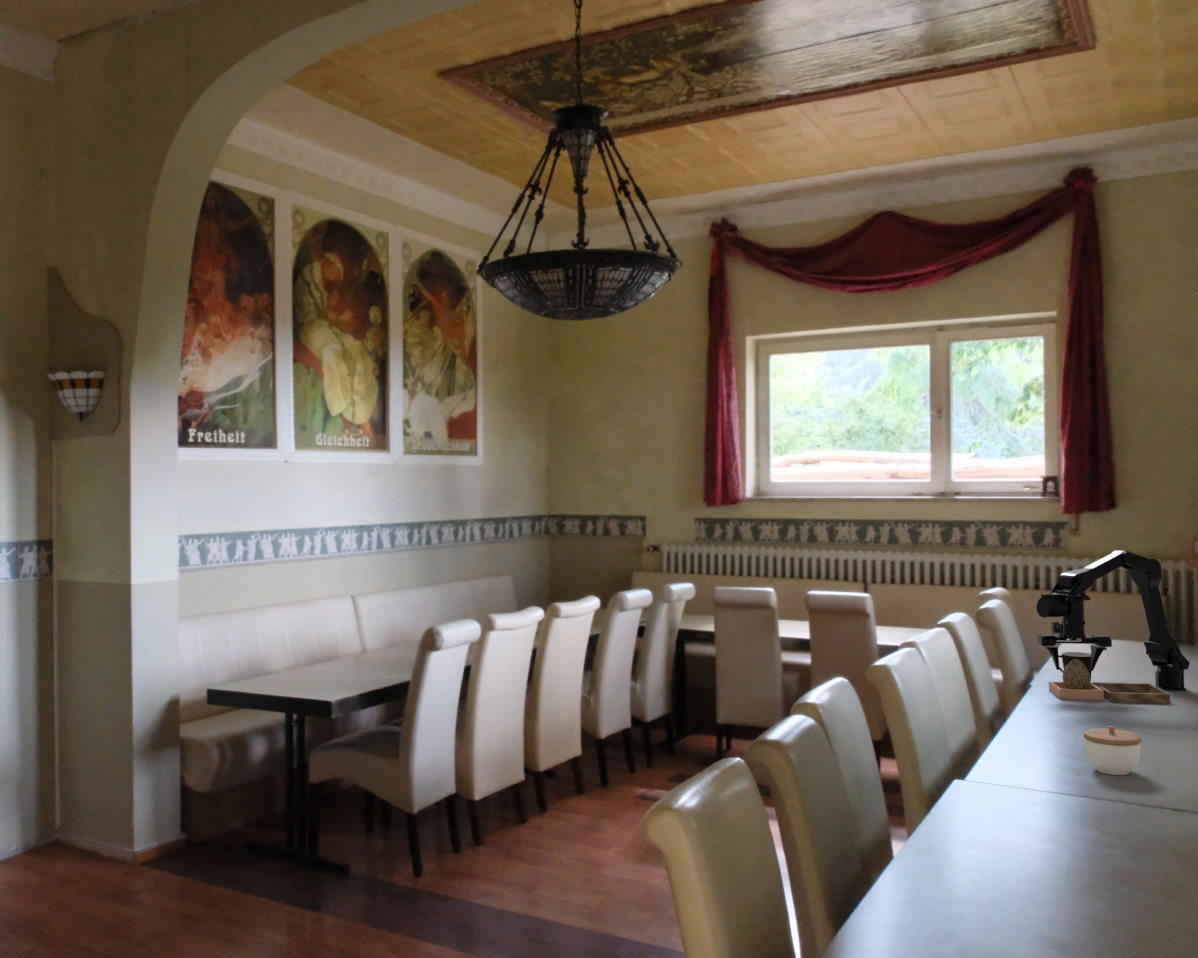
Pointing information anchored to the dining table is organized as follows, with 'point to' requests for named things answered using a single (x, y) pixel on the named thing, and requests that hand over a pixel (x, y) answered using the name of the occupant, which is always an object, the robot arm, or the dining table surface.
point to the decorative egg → (1076, 675)
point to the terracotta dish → (1076, 692)
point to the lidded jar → (1112, 750)
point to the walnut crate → (1149, 696)
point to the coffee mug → (1083, 657)
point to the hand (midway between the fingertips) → (1074, 670)
